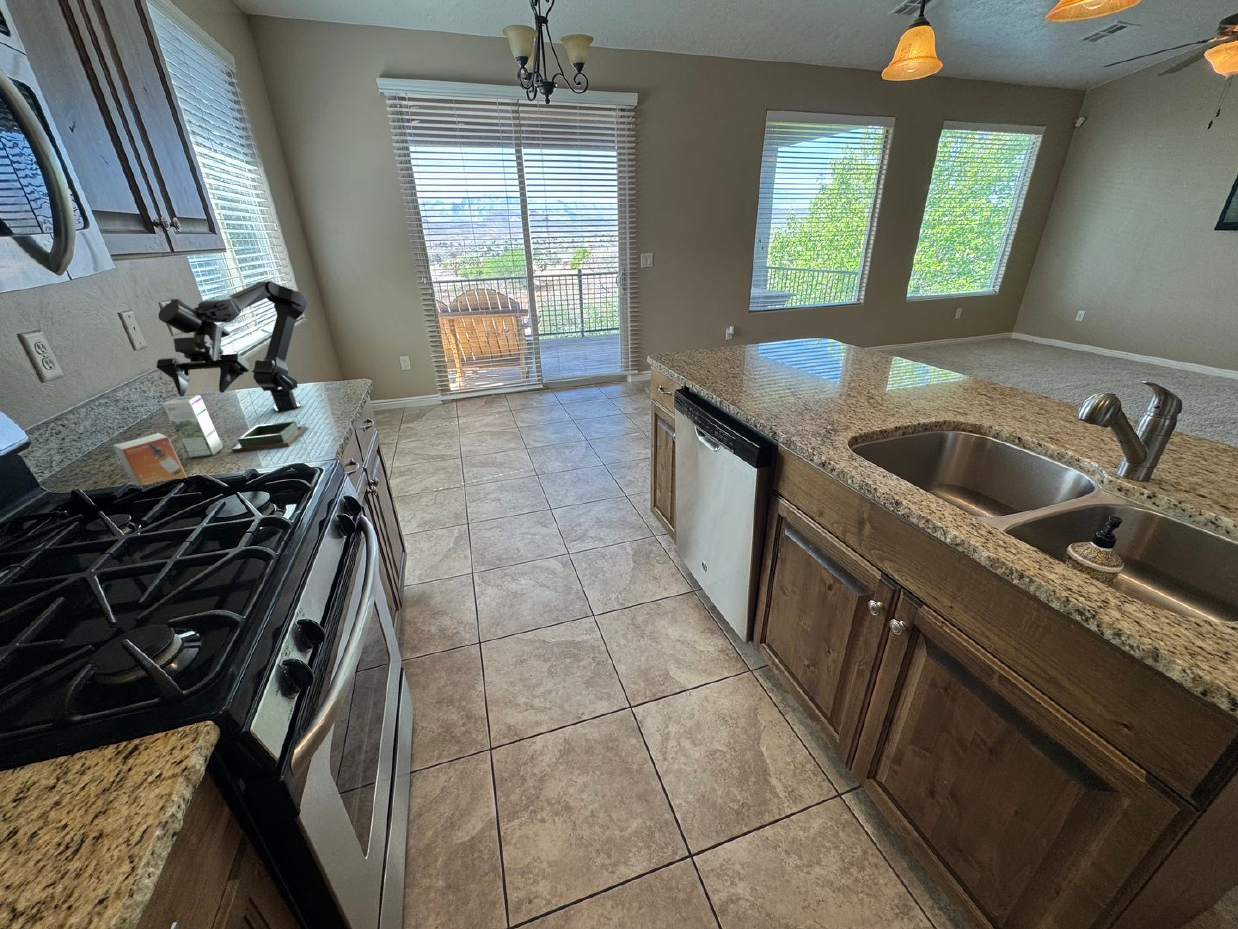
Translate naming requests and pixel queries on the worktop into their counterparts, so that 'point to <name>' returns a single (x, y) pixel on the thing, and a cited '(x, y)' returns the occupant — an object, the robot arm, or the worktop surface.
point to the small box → (150, 460)
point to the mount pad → (269, 436)
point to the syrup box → (193, 426)
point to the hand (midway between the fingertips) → (201, 393)
